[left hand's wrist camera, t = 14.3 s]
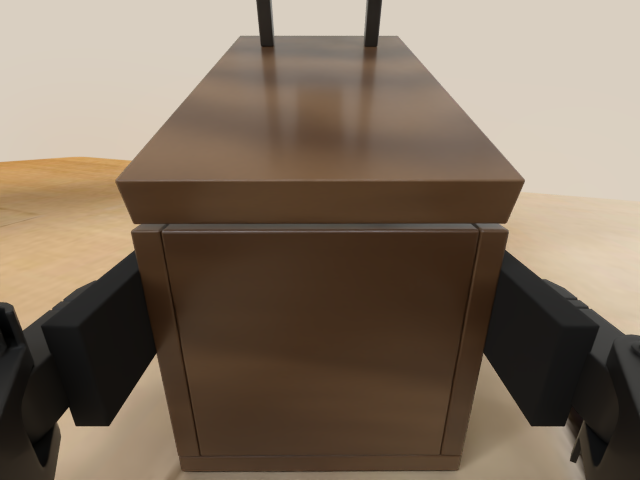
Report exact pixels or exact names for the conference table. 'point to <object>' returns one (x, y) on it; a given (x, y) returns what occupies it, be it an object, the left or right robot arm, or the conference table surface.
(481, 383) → the conference table surface
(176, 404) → the chest
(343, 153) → the lid
